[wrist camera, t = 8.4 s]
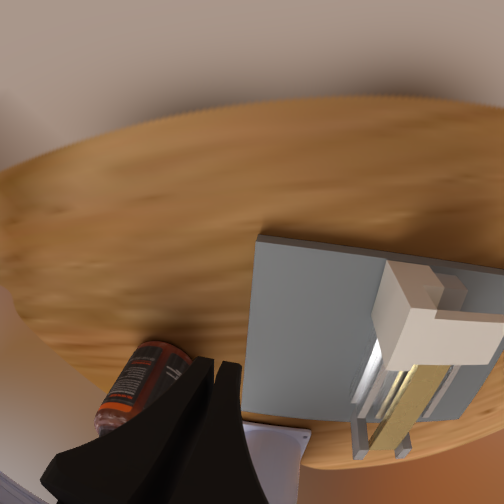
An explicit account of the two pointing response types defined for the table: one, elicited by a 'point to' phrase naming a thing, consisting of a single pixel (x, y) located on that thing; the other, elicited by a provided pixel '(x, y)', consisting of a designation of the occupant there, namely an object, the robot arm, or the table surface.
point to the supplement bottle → (140, 383)
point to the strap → (407, 405)
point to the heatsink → (385, 383)
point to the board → (341, 330)
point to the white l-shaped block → (428, 323)
